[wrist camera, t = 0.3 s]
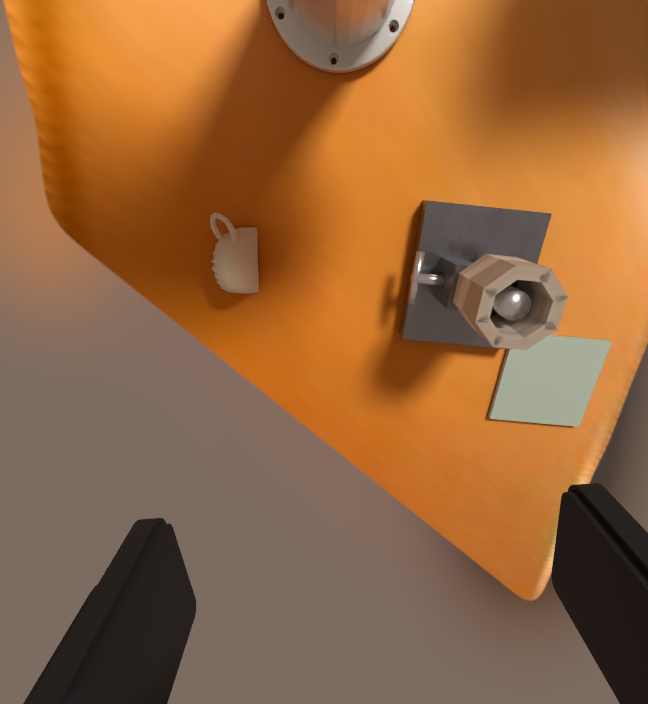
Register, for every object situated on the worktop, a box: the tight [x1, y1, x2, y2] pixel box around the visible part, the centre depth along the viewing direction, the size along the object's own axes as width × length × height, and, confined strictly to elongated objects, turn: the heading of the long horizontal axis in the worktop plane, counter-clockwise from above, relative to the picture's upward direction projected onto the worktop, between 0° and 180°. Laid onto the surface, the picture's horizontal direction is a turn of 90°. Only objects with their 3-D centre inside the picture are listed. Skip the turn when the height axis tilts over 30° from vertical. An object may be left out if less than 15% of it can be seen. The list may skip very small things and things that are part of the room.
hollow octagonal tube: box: [453, 254, 568, 350], centre depth 33 cm, size 6×6×6 cm
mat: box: [488, 335, 612, 427], centre depth 46 cm, size 11×11×1 cm
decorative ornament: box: [210, 213, 259, 294], centre depth 39 cm, size 4×8×5 cm, turn 176°
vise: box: [399, 200, 551, 350], centre depth 37 cm, size 14×13×12 cm
